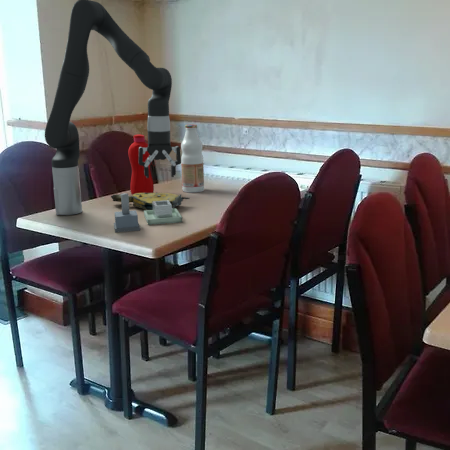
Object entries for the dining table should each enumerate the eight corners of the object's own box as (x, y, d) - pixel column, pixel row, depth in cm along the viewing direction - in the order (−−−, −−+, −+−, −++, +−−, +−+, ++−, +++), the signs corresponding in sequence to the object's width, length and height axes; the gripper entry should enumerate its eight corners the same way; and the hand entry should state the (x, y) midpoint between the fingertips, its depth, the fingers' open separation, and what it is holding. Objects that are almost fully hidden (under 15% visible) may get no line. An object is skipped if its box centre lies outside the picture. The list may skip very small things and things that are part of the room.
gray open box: (155, 220, 195) (154, 206, 194) (152, 215, 203) (152, 201, 201) (172, 219, 196) (171, 205, 195) (169, 213, 204) (168, 200, 203)
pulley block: (121, 185, 227) (190, 189, 216) (123, 199, 229) (191, 204, 218) (102, 195, 215) (173, 201, 204) (104, 210, 217) (174, 216, 206)
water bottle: (156, 196, 236) (152, 135, 230) (129, 196, 236) (125, 135, 230) (158, 191, 245) (156, 133, 238) (133, 192, 245) (129, 133, 239)
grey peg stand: (115, 232, 184) (112, 197, 181) (113, 226, 191) (111, 192, 188) (140, 230, 185) (138, 195, 182) (138, 224, 193) (135, 190, 190)
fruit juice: (184, 193, 241) (181, 126, 233) (180, 189, 250) (178, 124, 242) (206, 192, 243) (204, 125, 235) (202, 187, 252) (200, 123, 244)
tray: (148, 224, 192) (147, 219, 192) (144, 215, 205) (143, 210, 204) (182, 222, 195) (182, 217, 194) (176, 213, 207) (176, 208, 207)
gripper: (138, 131, 186) (140, 180, 191) (181, 130, 190) (182, 178, 194) (136, 128, 193) (138, 176, 198) (178, 127, 197) (179, 174, 201)
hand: (160, 177), depth 196 cm, fingers open, 8 cm apart
